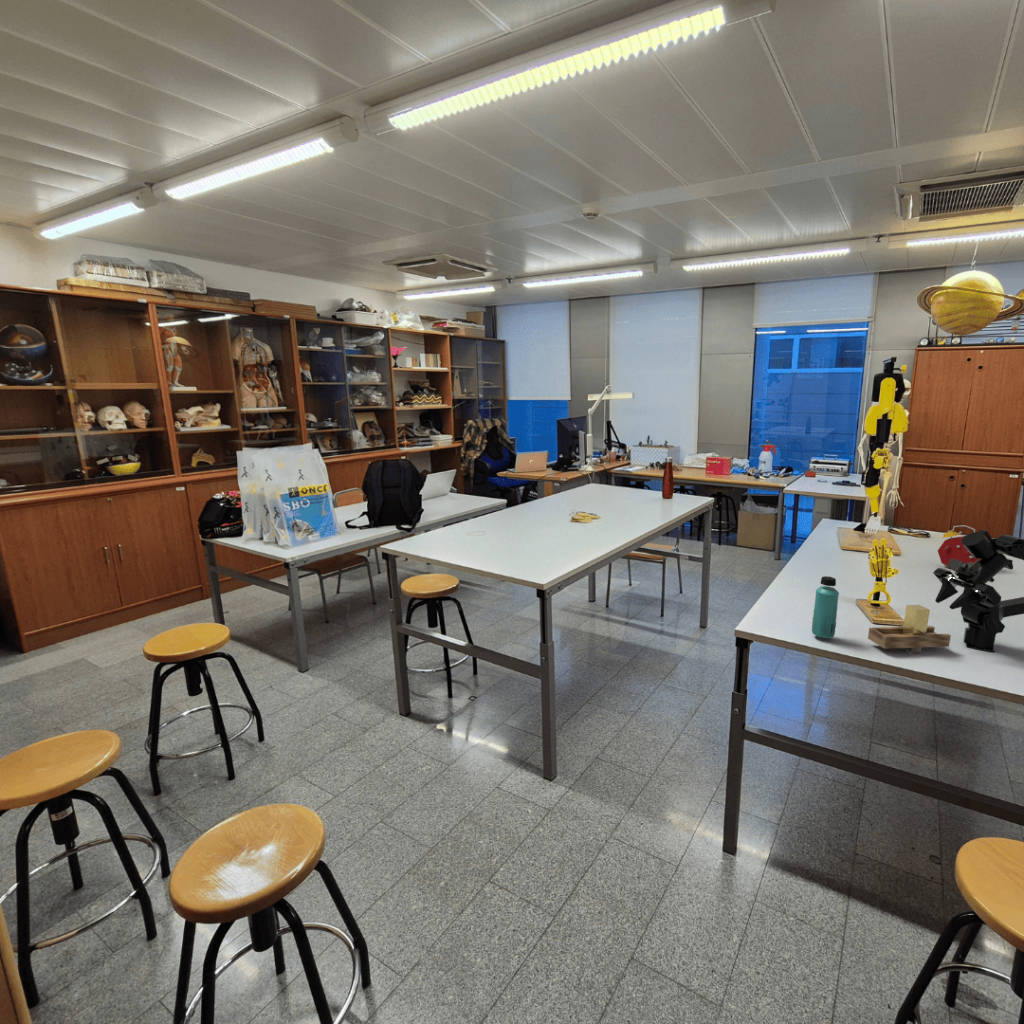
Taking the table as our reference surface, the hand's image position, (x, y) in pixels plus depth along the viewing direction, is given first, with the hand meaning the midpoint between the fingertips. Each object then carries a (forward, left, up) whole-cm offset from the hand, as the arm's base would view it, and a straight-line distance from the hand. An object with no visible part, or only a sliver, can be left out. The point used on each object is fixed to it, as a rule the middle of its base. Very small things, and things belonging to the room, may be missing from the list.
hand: (943, 605), depth 164 cm
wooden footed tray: (+7, +6, -14) cm, 17 cm away
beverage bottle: (+29, +12, -14) cm, 34 cm away
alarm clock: (-12, -102, -14) cm, 104 cm away
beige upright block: (+6, +5, -9) cm, 12 cm away
